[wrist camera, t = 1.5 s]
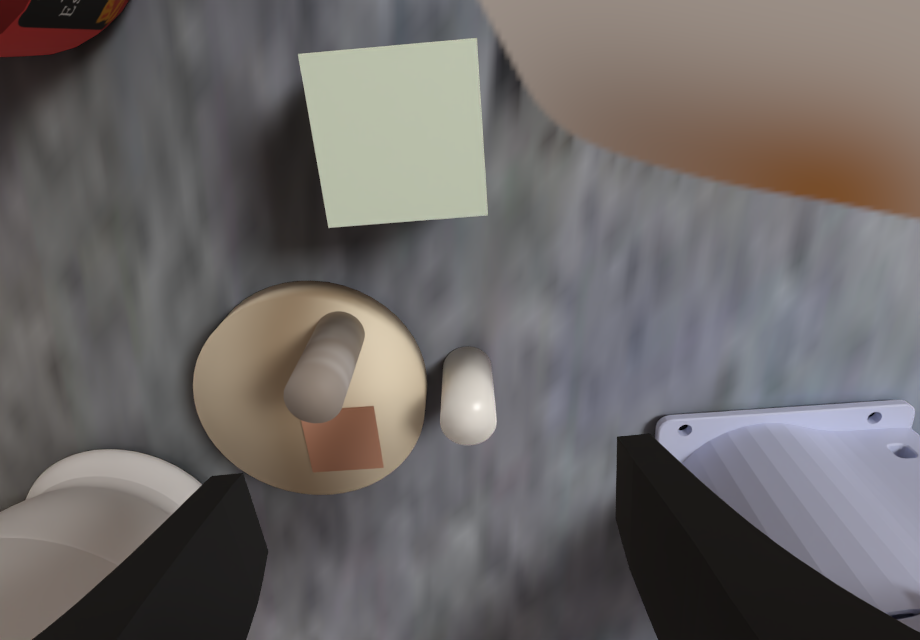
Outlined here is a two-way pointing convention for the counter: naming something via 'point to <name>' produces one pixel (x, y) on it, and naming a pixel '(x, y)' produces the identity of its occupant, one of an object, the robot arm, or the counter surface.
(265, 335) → the disc
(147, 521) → the jar
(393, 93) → the link block
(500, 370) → the counter surface
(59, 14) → the canned food
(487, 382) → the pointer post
